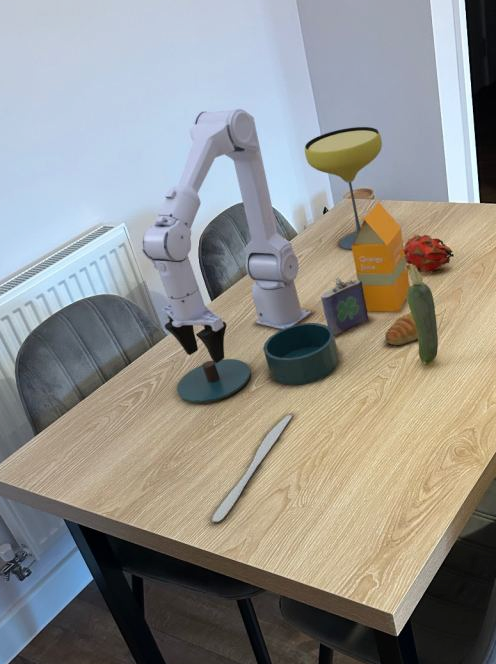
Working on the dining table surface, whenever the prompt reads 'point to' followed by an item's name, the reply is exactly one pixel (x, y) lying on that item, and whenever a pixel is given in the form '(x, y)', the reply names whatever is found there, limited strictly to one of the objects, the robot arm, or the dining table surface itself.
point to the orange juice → (381, 261)
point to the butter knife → (250, 469)
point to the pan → (301, 353)
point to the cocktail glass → (344, 158)
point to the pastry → (402, 331)
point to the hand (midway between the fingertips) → (206, 356)
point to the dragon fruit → (427, 253)
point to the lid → (213, 380)
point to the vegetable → (423, 315)
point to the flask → (345, 306)
